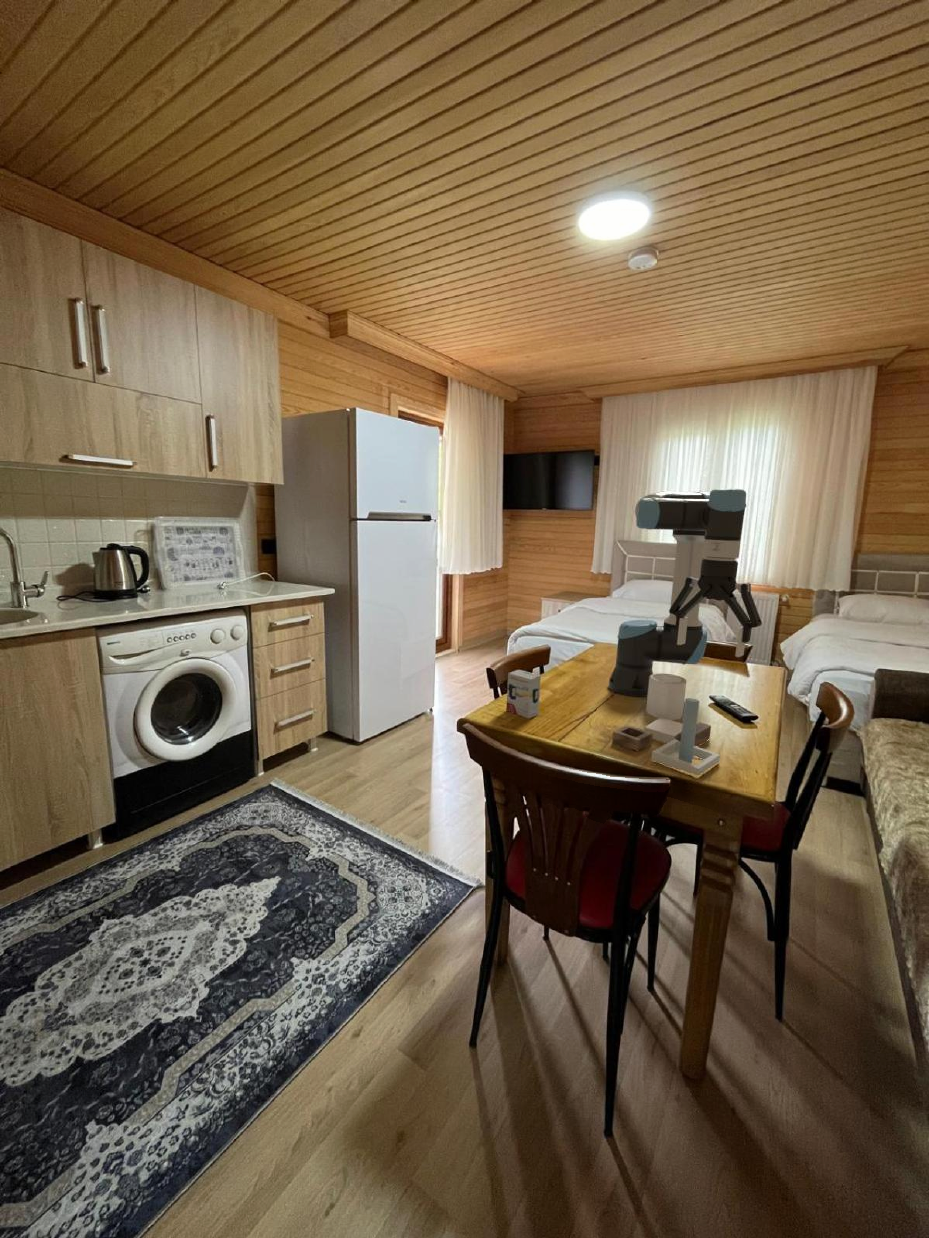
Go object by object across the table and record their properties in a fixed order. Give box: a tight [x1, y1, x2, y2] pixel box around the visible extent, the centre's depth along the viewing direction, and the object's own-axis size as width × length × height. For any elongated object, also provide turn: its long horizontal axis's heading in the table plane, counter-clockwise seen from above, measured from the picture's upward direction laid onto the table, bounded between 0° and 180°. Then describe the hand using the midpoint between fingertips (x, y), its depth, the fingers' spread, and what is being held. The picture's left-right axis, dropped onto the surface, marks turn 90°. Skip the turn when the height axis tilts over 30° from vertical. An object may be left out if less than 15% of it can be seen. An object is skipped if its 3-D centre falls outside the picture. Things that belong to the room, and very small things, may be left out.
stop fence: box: [678, 722, 712, 747], centre depth 137 cm, size 3×12×4 cm, turn 132°
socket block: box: [611, 724, 653, 752], centre depth 137 cm, size 7×7×3 cm
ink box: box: [505, 669, 541, 719], centre depth 155 cm, size 9×5×12 cm, turn 47°
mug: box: [645, 673, 687, 721], centre depth 156 cm, size 14×10×11 cm
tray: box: [650, 739, 721, 775], centre depth 127 cm, size 11×11×2 cm
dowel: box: [678, 697, 700, 763], centre depth 125 cm, size 3×3×15 cm
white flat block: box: [644, 717, 683, 744], centre depth 142 cm, size 8×10×3 cm
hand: (709, 649), depth 126 cm, fingers open, 13 cm apart
